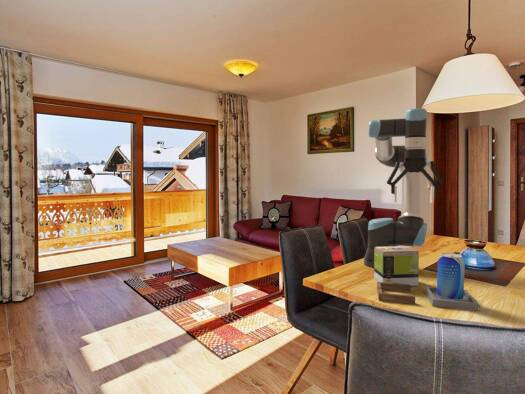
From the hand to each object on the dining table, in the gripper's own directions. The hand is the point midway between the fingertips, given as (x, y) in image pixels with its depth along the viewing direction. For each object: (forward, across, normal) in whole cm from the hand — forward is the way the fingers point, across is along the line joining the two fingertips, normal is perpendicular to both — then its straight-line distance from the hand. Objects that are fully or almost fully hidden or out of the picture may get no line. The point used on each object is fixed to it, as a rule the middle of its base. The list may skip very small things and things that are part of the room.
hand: (413, 202), depth 134 cm
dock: (+34, -7, -13) cm, 37 cm away
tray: (+34, +11, -14) cm, 38 cm away
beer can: (+34, +11, -13) cm, 38 cm away
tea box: (+35, -6, +3) cm, 35 cm away
